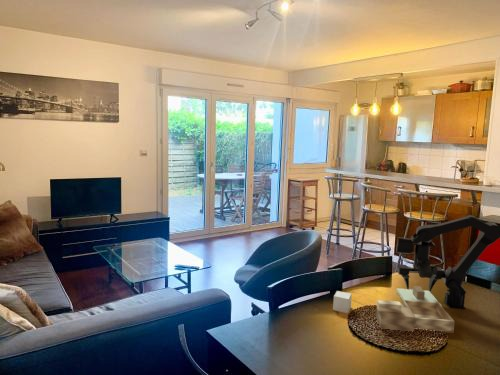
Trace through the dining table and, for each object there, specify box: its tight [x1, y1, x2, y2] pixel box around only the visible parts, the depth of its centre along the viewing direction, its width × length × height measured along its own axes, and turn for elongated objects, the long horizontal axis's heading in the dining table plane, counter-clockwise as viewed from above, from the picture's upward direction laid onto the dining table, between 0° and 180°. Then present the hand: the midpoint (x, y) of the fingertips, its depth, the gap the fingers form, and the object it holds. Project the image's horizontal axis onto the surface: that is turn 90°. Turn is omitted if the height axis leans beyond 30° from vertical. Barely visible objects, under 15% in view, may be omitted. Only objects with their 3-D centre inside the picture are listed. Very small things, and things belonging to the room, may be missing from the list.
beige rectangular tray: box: [375, 299, 456, 334], centre depth 144 cm, size 26×18×6 cm
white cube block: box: [332, 290, 352, 314], centre depth 153 cm, size 6×6×6 cm
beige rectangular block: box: [376, 299, 402, 313], centre depth 140 cm, size 8×3×3 cm, turn 83°
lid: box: [396, 285, 443, 307], centre depth 164 cm, size 14×16×6 cm
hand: (418, 290), depth 164 cm, fingers open, 9 cm apart
